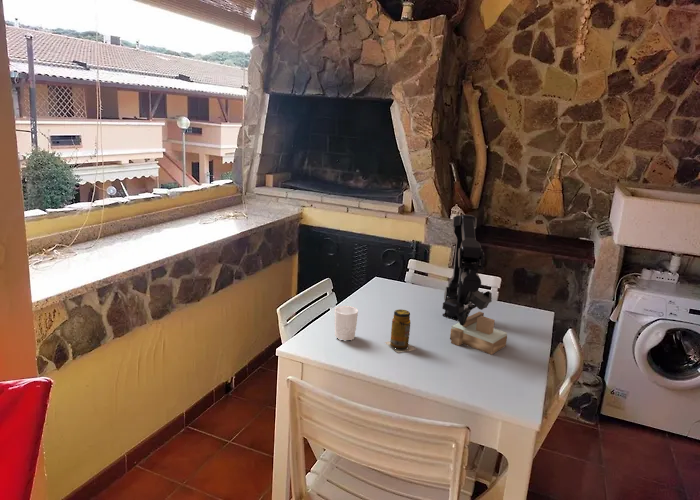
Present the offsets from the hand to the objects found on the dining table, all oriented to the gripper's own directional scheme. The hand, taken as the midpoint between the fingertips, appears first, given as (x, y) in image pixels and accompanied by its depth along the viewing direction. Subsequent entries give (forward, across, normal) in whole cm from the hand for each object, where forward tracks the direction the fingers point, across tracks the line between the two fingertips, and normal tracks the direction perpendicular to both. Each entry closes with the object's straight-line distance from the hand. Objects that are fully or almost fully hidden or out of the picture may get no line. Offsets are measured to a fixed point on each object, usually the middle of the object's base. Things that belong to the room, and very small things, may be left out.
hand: (461, 324), depth 177 cm
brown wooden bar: (+1, +7, 0) cm, 7 cm away
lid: (+2, +4, -5) cm, 6 cm away
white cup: (+6, -28, +28) cm, 40 cm away
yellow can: (+6, -19, +11) cm, 23 cm away
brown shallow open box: (+6, +4, -5) cm, 9 cm away
